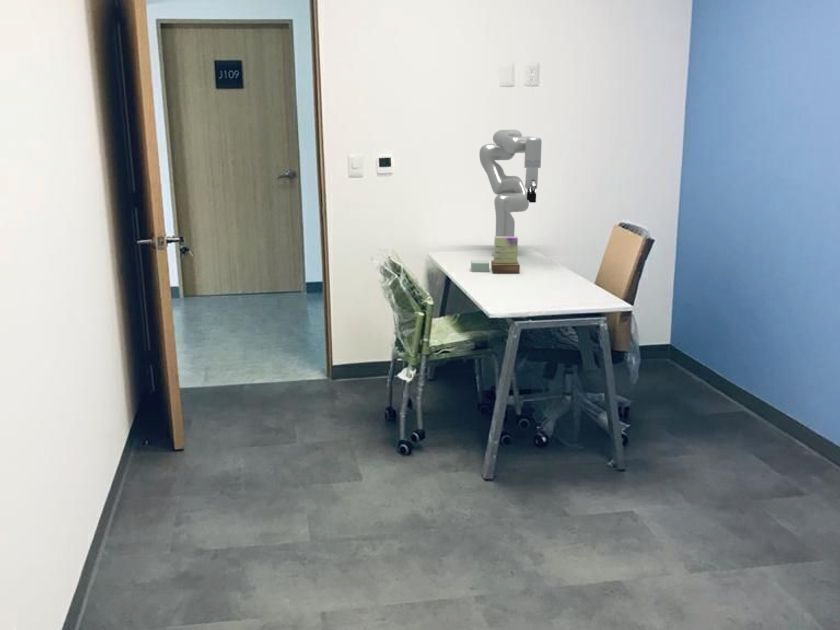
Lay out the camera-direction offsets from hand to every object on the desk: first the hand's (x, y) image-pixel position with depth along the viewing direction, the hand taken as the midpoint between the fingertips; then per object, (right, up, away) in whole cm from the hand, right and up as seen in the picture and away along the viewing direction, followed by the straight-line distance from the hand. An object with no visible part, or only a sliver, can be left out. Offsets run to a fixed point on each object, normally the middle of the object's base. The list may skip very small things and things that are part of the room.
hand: (531, 201), depth 378 cm
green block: (-25, -33, -8) cm, 42 cm away
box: (-13, -30, -10) cm, 34 cm away
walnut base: (-13, -34, -10) cm, 37 cm away
